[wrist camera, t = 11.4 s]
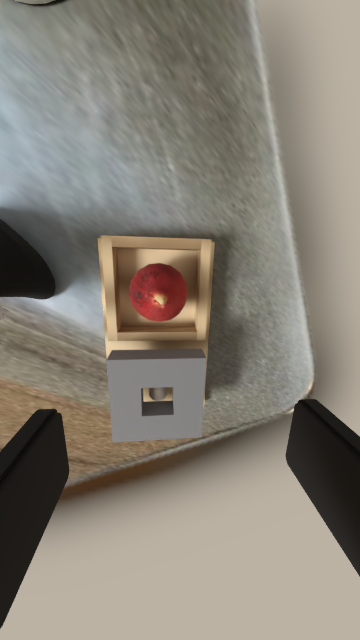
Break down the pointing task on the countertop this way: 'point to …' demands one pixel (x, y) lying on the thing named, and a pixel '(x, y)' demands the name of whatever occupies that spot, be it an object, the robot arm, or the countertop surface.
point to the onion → (158, 292)
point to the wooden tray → (135, 330)
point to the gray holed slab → (156, 372)
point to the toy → (22, 269)
